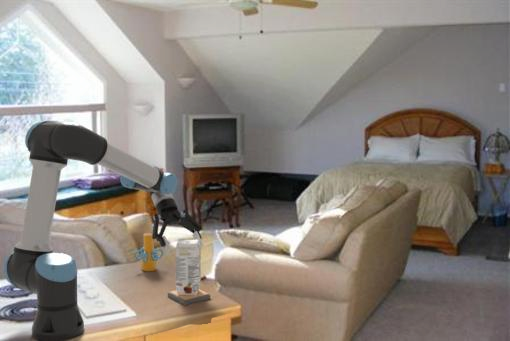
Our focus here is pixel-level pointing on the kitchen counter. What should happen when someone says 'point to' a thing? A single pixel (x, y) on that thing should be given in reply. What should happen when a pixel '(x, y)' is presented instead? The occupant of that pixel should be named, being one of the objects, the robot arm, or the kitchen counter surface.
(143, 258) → the yellow and blue piece
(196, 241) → the juice carton
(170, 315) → the kitchen counter surface
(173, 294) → the board
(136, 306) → the kitchen counter surface
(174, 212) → the robot arm
